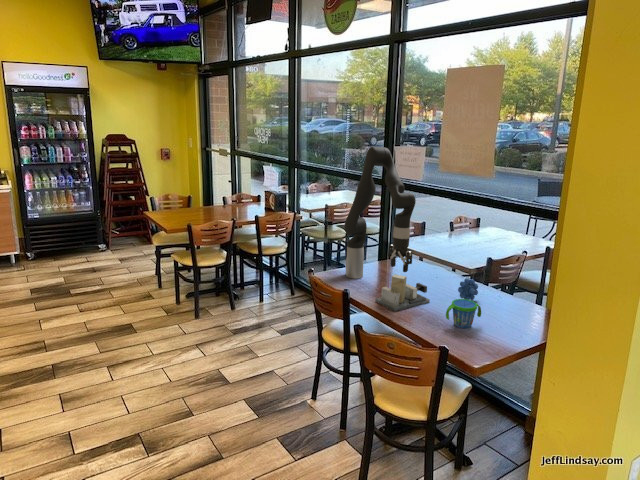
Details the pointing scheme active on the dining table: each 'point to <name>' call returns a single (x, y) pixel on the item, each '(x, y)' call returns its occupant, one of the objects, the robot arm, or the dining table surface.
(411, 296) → the free jaw
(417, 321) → the dining table surface
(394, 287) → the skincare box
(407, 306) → the vise
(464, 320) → the snack cup
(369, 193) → the robot arm
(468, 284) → the grapes
